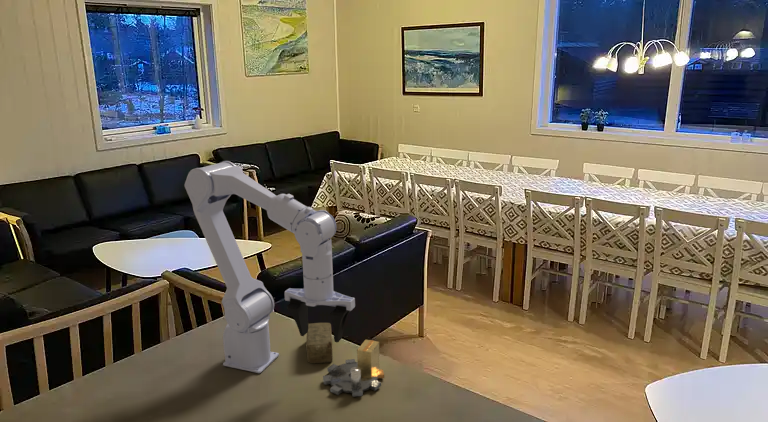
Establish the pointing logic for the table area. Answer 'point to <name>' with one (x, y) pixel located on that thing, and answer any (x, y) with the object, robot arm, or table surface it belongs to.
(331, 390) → the sprocket
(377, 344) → the tan rectangular block
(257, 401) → the table surface
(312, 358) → the stone block
